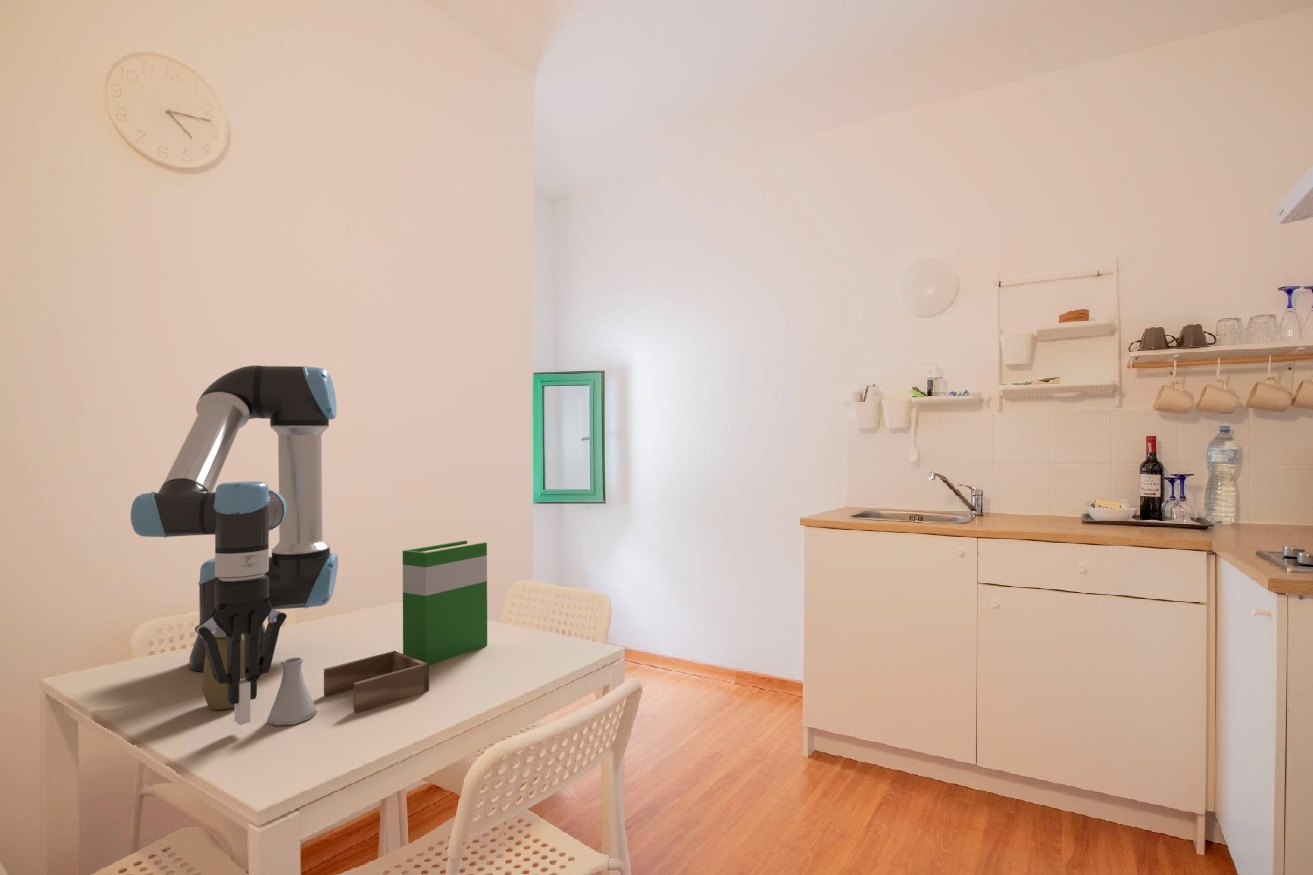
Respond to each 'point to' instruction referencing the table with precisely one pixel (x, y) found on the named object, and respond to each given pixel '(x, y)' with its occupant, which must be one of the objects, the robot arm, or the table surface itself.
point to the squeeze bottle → (213, 689)
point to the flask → (292, 696)
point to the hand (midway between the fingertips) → (242, 721)
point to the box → (378, 679)
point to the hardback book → (444, 600)
